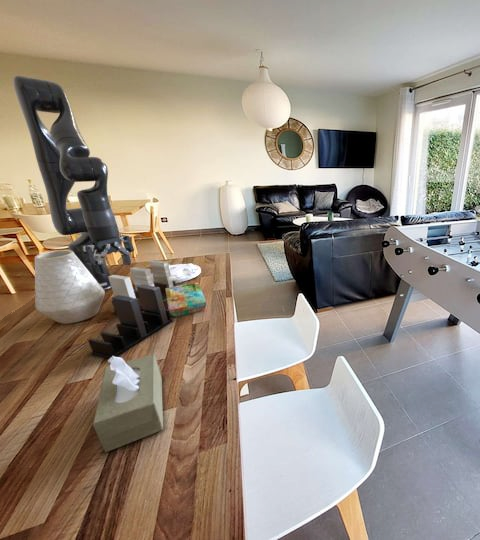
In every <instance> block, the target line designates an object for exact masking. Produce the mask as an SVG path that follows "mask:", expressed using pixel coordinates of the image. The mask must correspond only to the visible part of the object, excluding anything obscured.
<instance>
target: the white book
mask: <svg viewBox="0 0 480 540" xmlns="http://www.w3.org/2000/svg"><path fill="white" fill-rule="evenodd" d="M108 278H109V281H110V284H111V290H112V293H113V297H115V296H117V295H121V296H126V297H132V298H136V297H135V294H134V290H135V289H134V287H133V284H132V280H131V277H130V276H125V275H118V274H112V275H110V276H109V277H108Z"/></svg>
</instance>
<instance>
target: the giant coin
mask: <svg viewBox="0 0 480 540" xmlns="http://www.w3.org/2000/svg"><path fill="white" fill-rule="evenodd" d="M168 265H169V269H170V273H171V278H172V281H175V282H176V285H177V284H182V282H186V281H189V280H192V279H194V278H196V277H198V276H199V275H200V274H201V272H202V270H201V269H202V268H201V267H200V266H199V265H197V264H194V263H192V262H191V263H190V262H189V263H179V264H168ZM151 276H152V279H153V282H154V278H153V274H152V273H151Z"/></svg>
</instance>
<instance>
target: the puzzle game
mask: <svg viewBox="0 0 480 540" xmlns="http://www.w3.org/2000/svg"><path fill="white" fill-rule="evenodd" d="M165 290H166V297H167V298H166V303H167V309H169V312H170V316H173V317H175V318H177V317H181V316H186V315H190V314H194V313H198V312H203V311H204V309H205V308H206V306H207V301H206V298H205V297H204V293H203V292H202V289H201V287H200V283H199V282H197V281H196V282H192V283H191V282H190V283H185V284H180V285H176V286H175V287H170V288H165Z"/></svg>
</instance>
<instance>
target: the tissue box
mask: <svg viewBox="0 0 480 540" xmlns="http://www.w3.org/2000/svg"><path fill="white" fill-rule="evenodd" d="M107 362H108V363H110V364H109V365H108V366H106V367H105V368H104V372H103V377H102V381H101V385H100V390H99V395H98V398H97V399H98V400H97V403H96V408H95V414H94V417H93V423H92V427H93V429H94V430H95V433H96V435H97V437H98V440H99V442H100V444H101V446H102V448H103V450H104V452H105V453H108V452H110V451H113V450H115V449H118V448H121V447H123V446H125V445H128V444H131V443H134V442H135V441H138V440H141V439H143V438H145V437H148V436H151V435H153V434H156V433H158V432H159V433H160V432H161V431H163V430H164V416H163V415H164V411H163V409H164V407H163V378H162V377H163V376H162V374H161V371H160V368H159V367H160V366H159V363H158V361H157V357H156V354H154V353H151V354H147V355H145V356H141V357H137V358H134V359H130V360H127V361H125V360H124V358H123V357H119V356H117V357H115V356H112V357H111V358H110V359H107Z"/></svg>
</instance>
